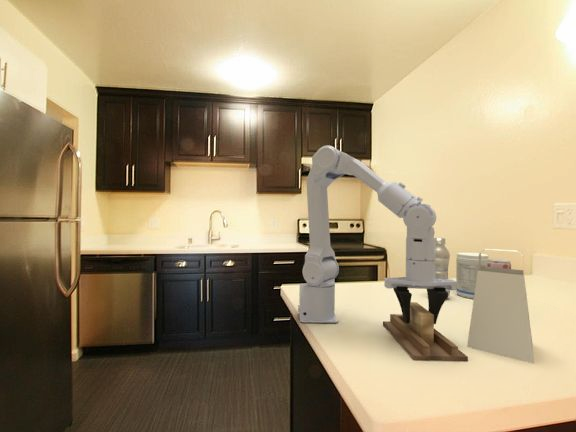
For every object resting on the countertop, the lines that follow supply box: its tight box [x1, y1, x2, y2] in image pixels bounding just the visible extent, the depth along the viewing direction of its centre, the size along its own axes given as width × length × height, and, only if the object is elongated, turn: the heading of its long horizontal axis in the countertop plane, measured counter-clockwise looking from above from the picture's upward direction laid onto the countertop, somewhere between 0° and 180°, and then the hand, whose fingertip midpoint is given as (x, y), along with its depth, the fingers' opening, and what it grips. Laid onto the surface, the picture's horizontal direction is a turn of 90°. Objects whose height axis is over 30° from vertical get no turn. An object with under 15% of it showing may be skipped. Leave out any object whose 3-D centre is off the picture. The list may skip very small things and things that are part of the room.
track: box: [382, 313, 469, 362], centre depth 63 cm, size 10×18×3 cm, turn 179°
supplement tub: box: [455, 251, 489, 300], centre depth 100 cm, size 10×10×15 cm
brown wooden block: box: [406, 301, 435, 345], centre depth 63 cm, size 3×9×6 cm, turn 176°
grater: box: [466, 248, 535, 364], centre depth 61 cm, size 10×10×20 cm
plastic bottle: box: [434, 237, 451, 298], centre depth 98 cm, size 6×7×20 cm
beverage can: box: [487, 257, 512, 269], centre depth 83 cm, size 6×6×15 cm
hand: (419, 322), depth 63 cm, fingers open, 5 cm apart
